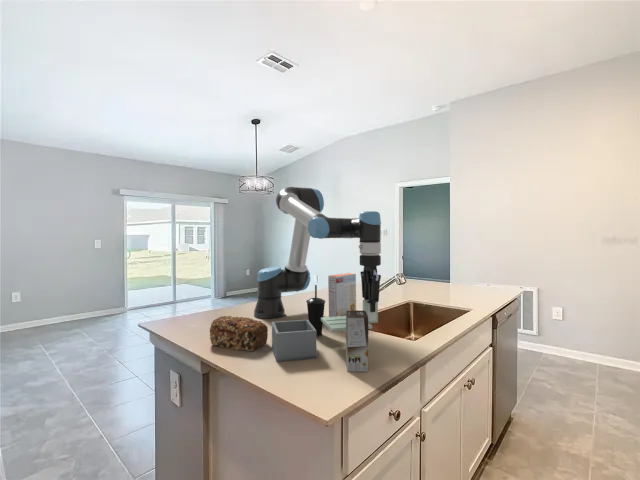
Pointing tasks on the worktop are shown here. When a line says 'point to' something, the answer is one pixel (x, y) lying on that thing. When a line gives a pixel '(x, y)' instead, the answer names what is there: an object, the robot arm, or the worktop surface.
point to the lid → (340, 321)
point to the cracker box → (341, 294)
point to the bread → (238, 333)
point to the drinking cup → (316, 312)
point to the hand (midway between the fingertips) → (370, 319)
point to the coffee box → (357, 341)
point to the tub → (293, 340)
